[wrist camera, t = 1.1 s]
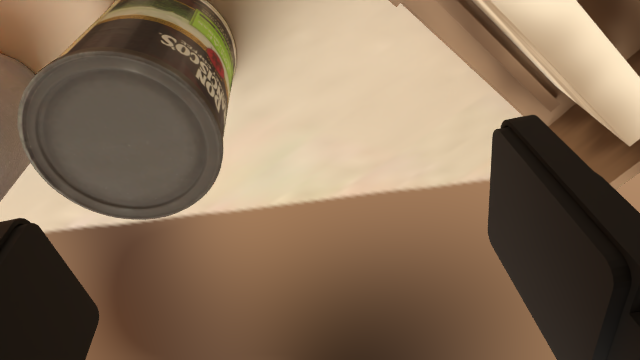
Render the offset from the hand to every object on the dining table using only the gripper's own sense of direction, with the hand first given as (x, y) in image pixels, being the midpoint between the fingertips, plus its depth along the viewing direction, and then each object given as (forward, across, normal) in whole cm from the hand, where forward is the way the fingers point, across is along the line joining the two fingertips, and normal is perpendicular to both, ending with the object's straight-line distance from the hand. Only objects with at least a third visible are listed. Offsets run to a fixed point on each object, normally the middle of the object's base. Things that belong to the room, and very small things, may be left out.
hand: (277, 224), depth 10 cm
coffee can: (+29, +9, +5) cm, 31 cm away
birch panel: (+28, -18, +7) cm, 33 cm away
